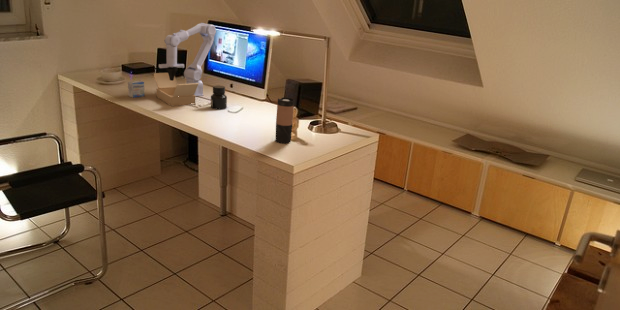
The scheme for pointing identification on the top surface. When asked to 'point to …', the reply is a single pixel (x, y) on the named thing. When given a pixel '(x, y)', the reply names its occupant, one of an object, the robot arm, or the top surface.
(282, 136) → the travel mug
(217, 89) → the ink bottle
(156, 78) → the flap
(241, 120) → the top surface
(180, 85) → the flap
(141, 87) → the medicine box
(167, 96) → the carton
